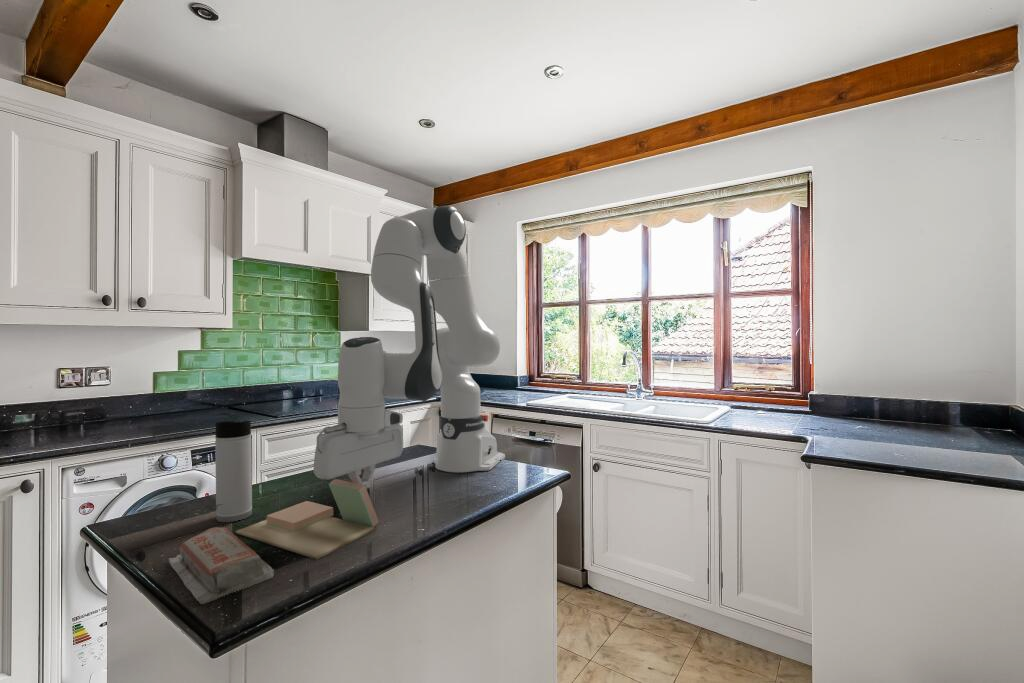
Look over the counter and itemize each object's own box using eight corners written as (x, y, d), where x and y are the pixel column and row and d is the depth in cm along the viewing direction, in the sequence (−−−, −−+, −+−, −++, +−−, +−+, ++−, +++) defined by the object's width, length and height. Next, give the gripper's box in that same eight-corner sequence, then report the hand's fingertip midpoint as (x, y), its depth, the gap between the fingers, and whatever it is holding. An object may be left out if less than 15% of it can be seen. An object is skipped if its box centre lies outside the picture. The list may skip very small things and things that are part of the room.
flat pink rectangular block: (306, 500, 98) (266, 515, 90) (333, 507, 94) (293, 523, 86) (306, 508, 98) (266, 523, 90) (333, 515, 94) (293, 531, 86)
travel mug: (209, 524, 91) (208, 422, 90) (224, 512, 97) (223, 416, 97) (243, 522, 92) (242, 421, 91) (256, 510, 98) (255, 415, 98)
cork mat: (297, 509, 98) (297, 508, 98) (374, 530, 88) (374, 527, 88) (235, 533, 87) (235, 531, 87) (316, 559, 76) (316, 556, 76)
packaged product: (276, 548, 71) (199, 574, 63) (276, 580, 71) (200, 609, 63) (235, 517, 83) (167, 536, 75) (236, 544, 83) (167, 565, 75)
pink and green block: (349, 514, 94) (334, 478, 91) (378, 521, 90) (364, 484, 87) (343, 520, 93) (328, 484, 89) (373, 527, 89) (358, 490, 86)
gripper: (329, 430, 81) (330, 509, 81) (408, 413, 99) (408, 478, 99) (305, 427, 84) (305, 503, 84) (385, 411, 102) (386, 474, 102)
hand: (361, 489), depth 92 cm, fingers closed
